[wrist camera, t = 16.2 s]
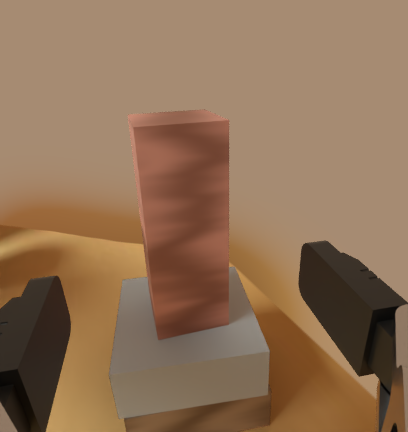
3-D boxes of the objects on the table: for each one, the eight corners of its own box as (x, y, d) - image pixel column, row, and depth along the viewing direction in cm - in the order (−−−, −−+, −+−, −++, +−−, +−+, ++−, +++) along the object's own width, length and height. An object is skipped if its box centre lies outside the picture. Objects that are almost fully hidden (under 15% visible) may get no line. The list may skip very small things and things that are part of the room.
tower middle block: (118, 419, 22) (108, 375, 20) (129, 315, 31) (122, 279, 29) (267, 394, 23) (269, 351, 21) (235, 302, 32) (234, 266, 30)
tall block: (157, 340, 22) (133, 127, 16) (149, 295, 27) (127, 114, 21) (228, 324, 23) (229, 120, 18) (209, 283, 28) (204, 109, 22)
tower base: (132, 458, 23) (124, 420, 22) (134, 349, 32) (128, 317, 31) (269, 428, 25) (271, 391, 23) (234, 332, 34) (234, 300, 32)
